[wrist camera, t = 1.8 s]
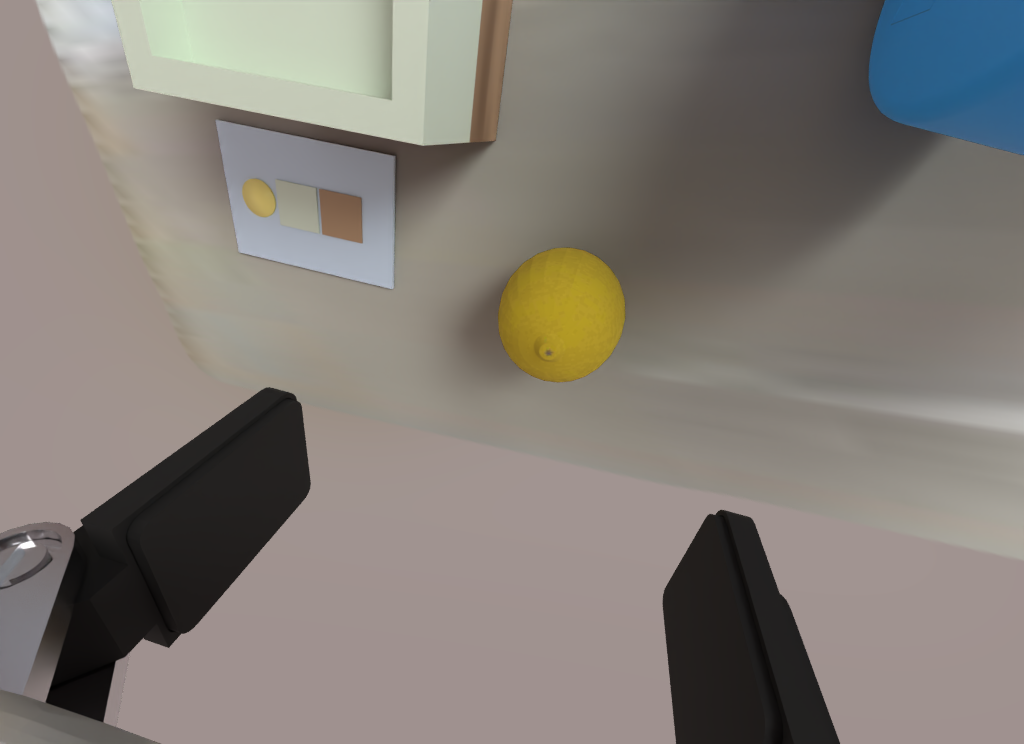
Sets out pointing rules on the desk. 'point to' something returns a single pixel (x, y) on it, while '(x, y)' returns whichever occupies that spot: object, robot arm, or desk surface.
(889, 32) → the alarm clock
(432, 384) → the desk surface
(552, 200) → the desk surface
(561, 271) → the lemon
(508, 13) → the base brick
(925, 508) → the desk surface
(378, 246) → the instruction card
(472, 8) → the top brick
